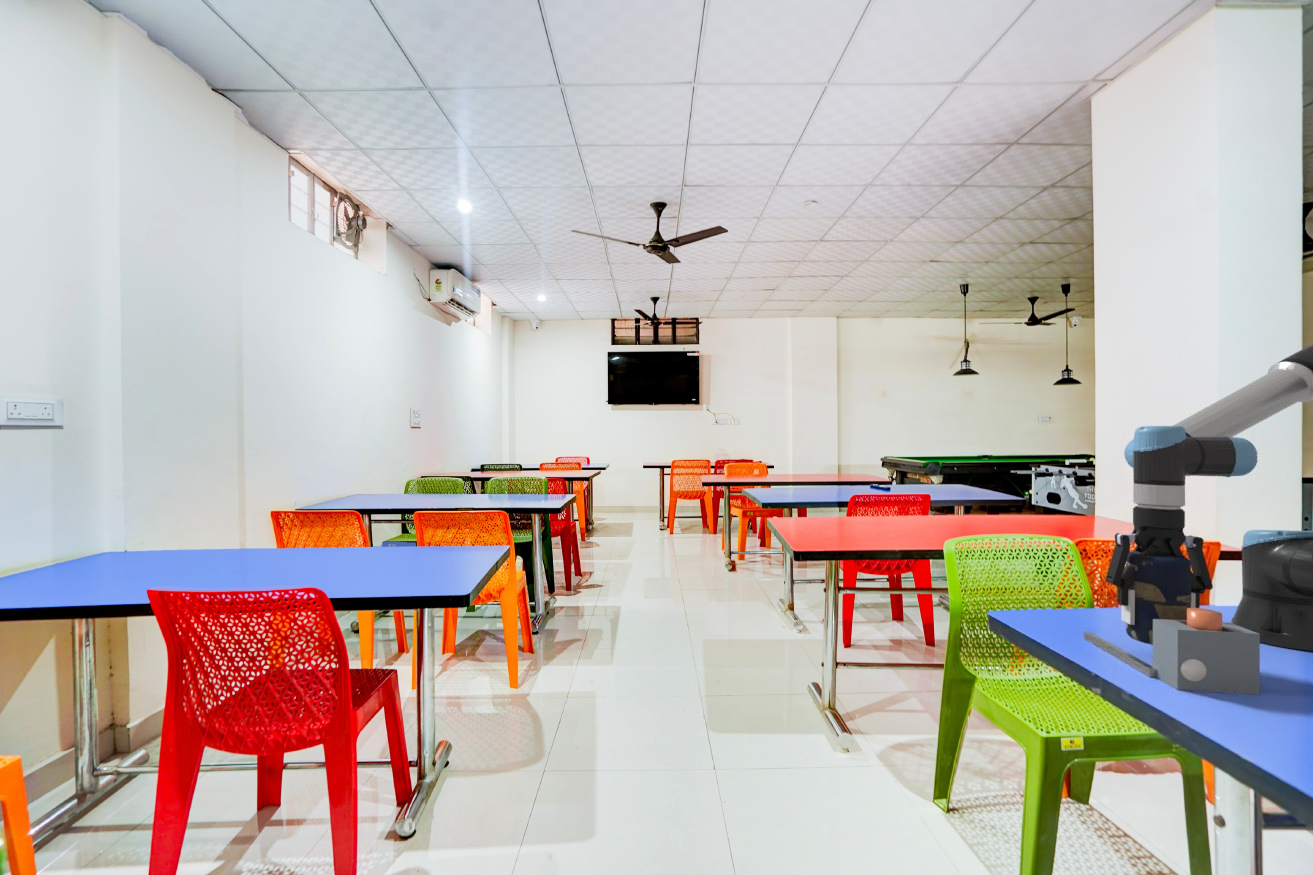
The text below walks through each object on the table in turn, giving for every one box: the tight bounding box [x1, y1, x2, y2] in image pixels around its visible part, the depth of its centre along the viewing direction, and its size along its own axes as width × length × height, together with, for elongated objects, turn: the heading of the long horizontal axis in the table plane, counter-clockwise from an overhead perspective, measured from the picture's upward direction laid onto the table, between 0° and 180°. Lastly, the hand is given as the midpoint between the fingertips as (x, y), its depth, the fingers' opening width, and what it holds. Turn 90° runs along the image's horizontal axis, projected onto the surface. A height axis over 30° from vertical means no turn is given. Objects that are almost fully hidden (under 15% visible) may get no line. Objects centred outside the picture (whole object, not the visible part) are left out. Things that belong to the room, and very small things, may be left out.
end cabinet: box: [1152, 619, 1261, 696], centre depth 99 cm, size 12×6×10 cm, turn 81°
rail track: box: [1083, 631, 1158, 679], centre depth 111 cm, size 15×20×2 cm
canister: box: [1125, 550, 1192, 646], centre depth 111 cm, size 10×10×18 cm
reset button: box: [1187, 607, 1223, 631], centre depth 100 cm, size 4×4×4 cm
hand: (1157, 623), depth 111 cm, fingers closed on canister, 9 cm apart
